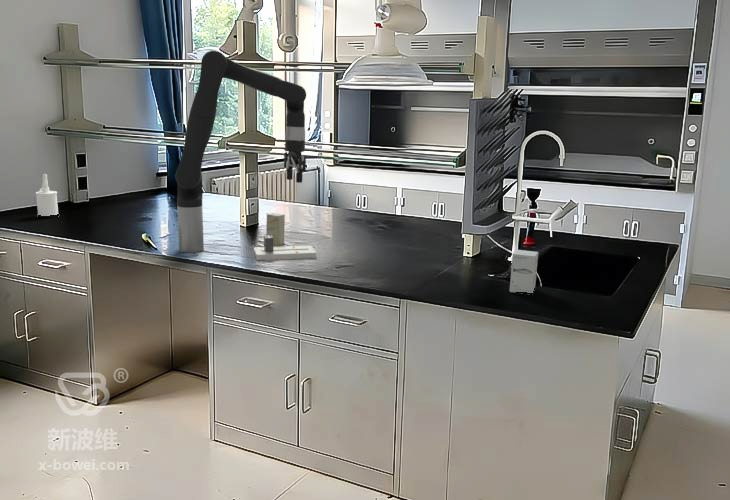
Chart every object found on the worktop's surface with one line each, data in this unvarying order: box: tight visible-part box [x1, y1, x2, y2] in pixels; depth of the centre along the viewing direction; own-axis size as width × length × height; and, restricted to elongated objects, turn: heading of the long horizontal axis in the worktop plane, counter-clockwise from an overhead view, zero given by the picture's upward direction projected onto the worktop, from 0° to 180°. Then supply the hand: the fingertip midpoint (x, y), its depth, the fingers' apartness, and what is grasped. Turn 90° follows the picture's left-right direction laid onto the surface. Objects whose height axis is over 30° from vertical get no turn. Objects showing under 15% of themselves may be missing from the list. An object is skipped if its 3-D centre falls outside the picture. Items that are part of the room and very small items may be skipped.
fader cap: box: [263, 235, 274, 251], centre depth 261 cm, size 3×5×5 cm, turn 14°
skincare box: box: [265, 212, 286, 247], centre depth 280 cm, size 6×4×12 cm
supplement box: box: [509, 249, 539, 294], centre depth 221 cm, size 7×7×13 cm
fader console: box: [253, 245, 317, 261], centre depth 263 cm, size 22×12×2 cm, turn 104°
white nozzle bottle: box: [35, 173, 59, 216], centre depth 327 cm, size 10×9×20 cm
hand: (294, 181), depth 270 cm, fingers open, 8 cm apart
